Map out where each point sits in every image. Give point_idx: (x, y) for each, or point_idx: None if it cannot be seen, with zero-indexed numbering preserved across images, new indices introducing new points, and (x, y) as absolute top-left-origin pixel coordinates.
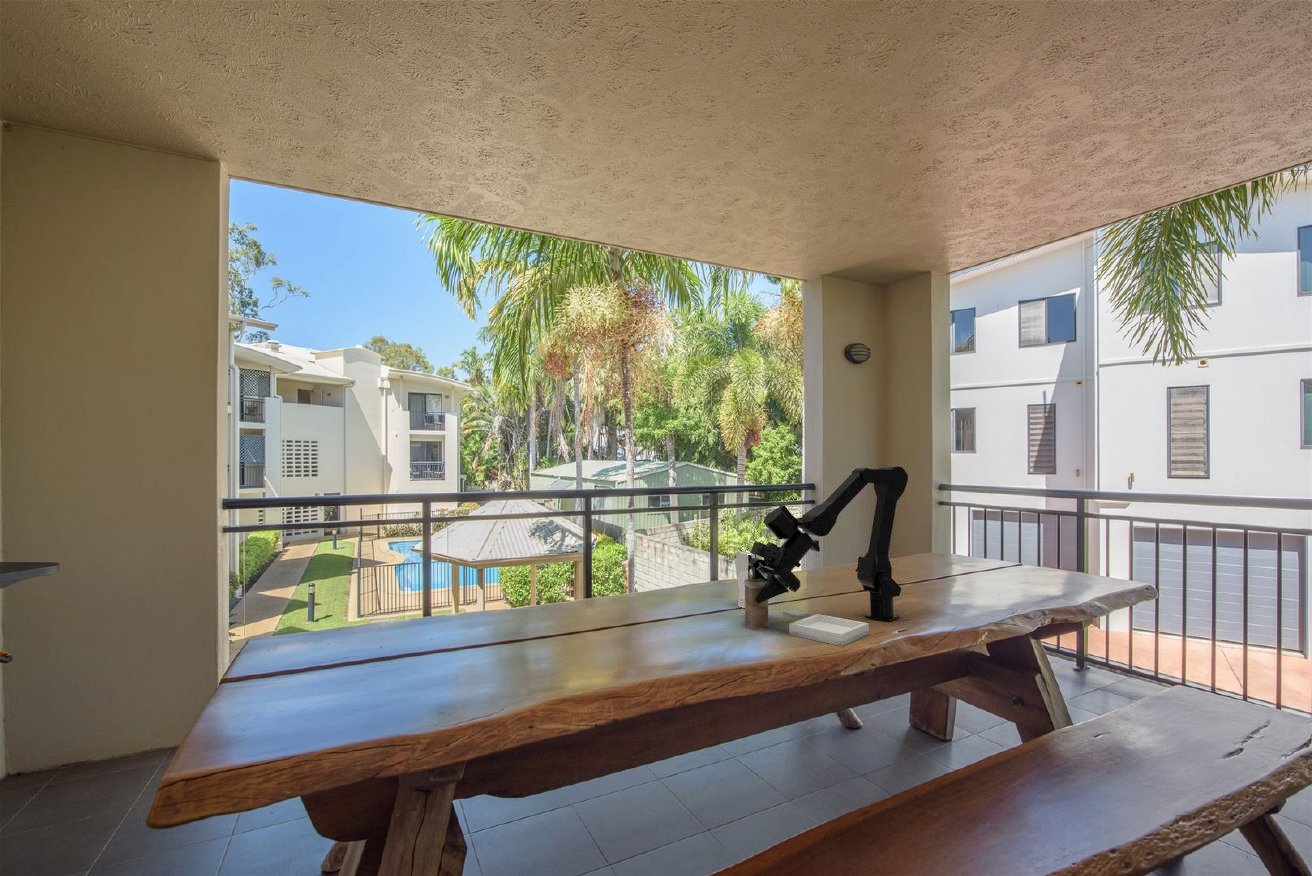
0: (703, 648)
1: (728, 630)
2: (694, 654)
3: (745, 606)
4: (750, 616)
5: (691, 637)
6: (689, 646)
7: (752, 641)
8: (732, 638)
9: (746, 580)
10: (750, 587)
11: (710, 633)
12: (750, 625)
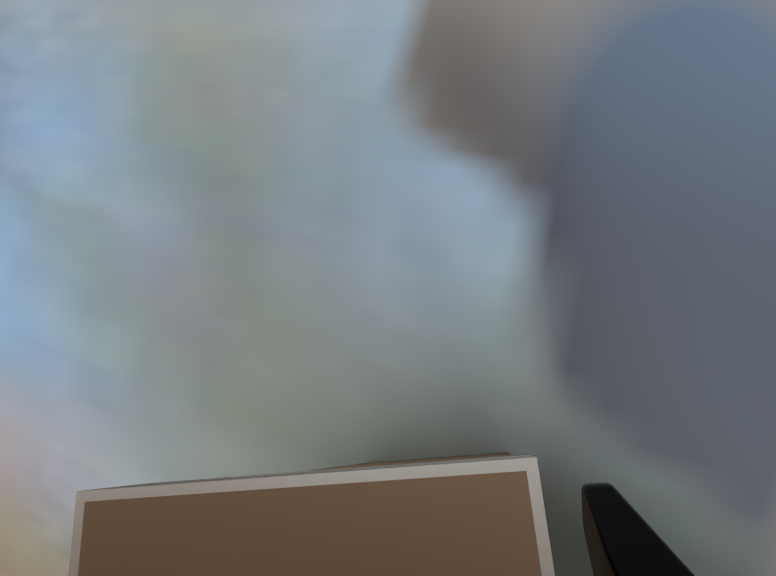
0: (80, 84)
1: (370, 274)
2: (21, 42)
3: (502, 456)
4: (372, 464)
5: (268, 42)
6: (128, 27)
7: (100, 363)
8: (190, 258)
9: (418, 483)
10: (198, 479)
11: (323, 148)
12: (391, 461)
